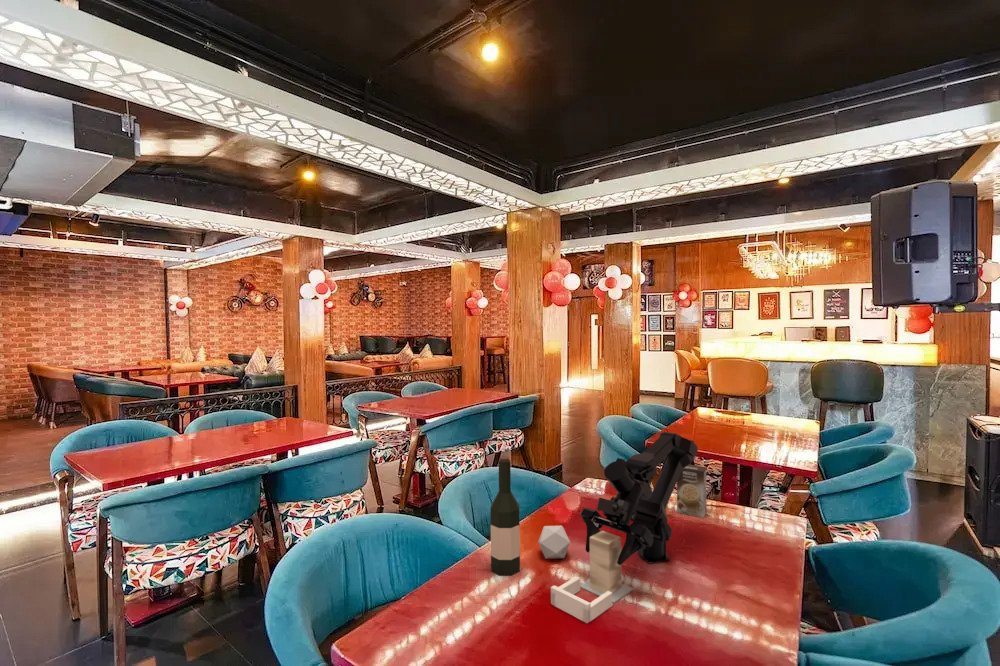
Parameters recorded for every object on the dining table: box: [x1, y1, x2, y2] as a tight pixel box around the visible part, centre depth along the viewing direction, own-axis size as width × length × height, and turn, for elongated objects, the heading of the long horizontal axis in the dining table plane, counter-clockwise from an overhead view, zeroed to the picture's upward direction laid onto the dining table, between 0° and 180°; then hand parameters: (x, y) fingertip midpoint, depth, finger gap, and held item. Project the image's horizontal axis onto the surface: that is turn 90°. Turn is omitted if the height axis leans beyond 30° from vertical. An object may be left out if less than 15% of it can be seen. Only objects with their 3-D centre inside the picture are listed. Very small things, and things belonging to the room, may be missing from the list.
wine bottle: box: [490, 456, 521, 577], centre depth 128 cm, size 8×8×30 cm
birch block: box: [589, 530, 623, 594], centre depth 118 cm, size 6×6×12 cm
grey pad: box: [580, 579, 634, 604], centre depth 118 cm, size 8×10×1 cm
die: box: [537, 525, 571, 560], centre depth 135 cm, size 8×9×10 cm
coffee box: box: [676, 464, 707, 519], centre depth 166 cm, size 9×6×16 cm
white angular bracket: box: [550, 576, 614, 624], centre depth 111 cm, size 10×10×4 cm
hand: (602, 557), depth 117 cm, fingers open, 9 cm apart
